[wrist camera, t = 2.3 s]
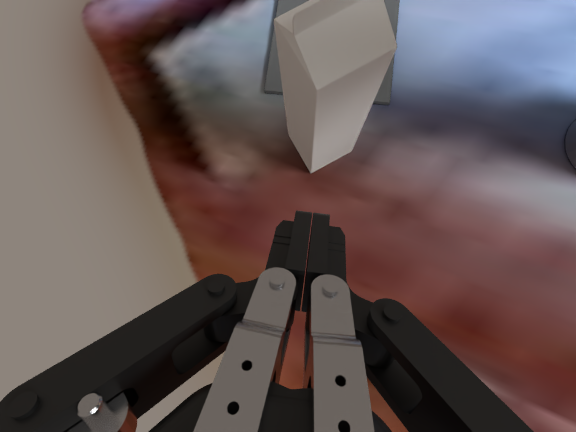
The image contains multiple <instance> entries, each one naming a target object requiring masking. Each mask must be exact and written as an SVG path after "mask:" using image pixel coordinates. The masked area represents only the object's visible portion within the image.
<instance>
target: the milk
mask: <svg viewBox="0 0 576 432" xmlns="http://www.w3.org/2000/svg"><path fill="white" fill-rule="evenodd" d="M274 26H275V34H276V42H277V50H278V58H279V66H280V73H281V81H282V89H283V97H284V105H285V113H286V120H287V128H288V135H289V137H290V139H291V140H292V142H293V144H294V145H295V147H296V149H297V151H298V152H299V154H300V156H301V158H302V159H303V161H304V163H305V165H306V166H307V168H308V170H309V172H310V173H313V172H315V171H316V170H318V169H320V168H322V167H324V166H326V165H327V164H329V163H331V162H333V161H335V160H337V159H339V158H340V157H342V156H344V155H346V154H348V153H350V152H351V151H352V150H353V148H354V145H355V143H356V141H357V138H358V136H359V134H360V131H361V129H362V127H363V125H364V122H365V120H366V118H367V115H368V113H369V111H370V108H371V106H372V104H373V101H374V99H375V97H376V95H377V92H378V90H379V88H380V85H381V83H382V81H383V78H384V76H385V74H386V71H387V69H388V67H389V65H390V62H391V60H392V58H393V55H394V53H395V51H396V48H397V43H396V40H395V37H394V33H393V30H392V26H391V23H390V20H389V16H388V13H387V9H386V6H385V3H384V0H309V1H307V2H305V3H303V4H301V5H299V6H297V7H296V8H294V9H292V10H290V11H288V12H286V13H284V14H282V15H280V16H278V17H277V18H275V19H274Z"/></svg>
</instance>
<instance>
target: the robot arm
mask: <svg viewBox="0 0 576 432" xmlns="http://www.w3.org/2000/svg"><path fill="white" fill-rule="evenodd" d="M565 147H566V152H567V155H568V158H569V160H570V162H571V163H572V164H573V166H574V167H575V168H576V120H575V121H574V122H573V123H572V124H571V126H570V127H569V129H568V131H567V134H566V138H565ZM311 217H312V213H311V212H303V211H296V214H295V219H294V222H293V221H285V220H283V221H282V222H281V223H280V224H279V225H278V226H277V227H276V231H275V235H274V239H273V243H272V246H271V250H270V254H269V258H268V262H267V265H266V269H265V271H264V272H262V273H261V275H260V276H259V277H258V278H257V279H254V280H252V281H248V282H241V283H235V281H234V280H233V279H232V278H231V277H229V276H227V275H223V274H214V275H210V276H208V277H206V278H204V279H202V280H200V281H199V282H197V283H195V284H194V285H192V286H191V287H189V288H187V289H185V290H183V291H182V292H180V293H178V294H176V295H175V296H173V297H171V298H169V299H168V300H166V301H165V302H163V303H161V304H159V305H157V306H156V307H154V308H152V309H151V310H149V311H147V312H145V313H144V314H142V315H140V316H138V317H137V318H135V319H133V320H132V321H130V322H128V323H126V324H125V325H123V326H121V327H120V328H118V329H116V330H114V331H113V332H111V333H109V334H107V335H106V336H104V337H103V338H101V339H99V340H97V341H95V342H94V343H92V344H90V345H89V346H87V347H85V348H83V349H82V350H80V351H78V352H76V353H75V354H73V355H71V356H70V357H68V358H66V359H64V360H63V361H61V362H60V363H58V364H56V365H54V366H52V367H51V368H49V369H47V370H45V371H44V372H42V373H40V374H39V375H37V376H35V377H33V378H32V379H30V380H28V381H27V382H25V383H23V384H21V385H20V386H18V387H17V388H15V389H14V390H12V391H11V392H10V393H9V394H7V395H6V396H5V397H4V398H3V400H2V401H1V402H0V432H135V431H136V427H137V419H138V418H139V417H140V416H142V415H143V414H144V413H146V412H147V411H148V410H150V409H151V408H152V407H153V406H155V405H156V404H157V403H159V402H160V401H161V400H162V399H164V398H165V397H166V396H167V395H169V394H170V393H171V392H173V391H174V390H175V389H177V388H178V387H179V386H180V385H182V384H183V383H184V382H186V381H187V380H188V379H189V378H191V377H192V376H193V375H195V374H196V373H197V372H198V371H200V370H201V369H202V368H204V367H205V366H206V365H208V364H209V363H210V362H211V361H212V360H214V359H215V358H217V357H218V356H219V355H220V354H222V353H223V352H224V351H225V353H224V356H223V358H222V361H221V363H220V366H219V368H218V371H217V373H216V376H215V378H214V381H213V383H211V384H209V385H206V386H205V387H203V388H201V389H199V390H198V391H196V392H195V393H193V394H192V395H190V396H189V397H188V398H187V399H186V400H184V401H183V402H182V403H181V404H180V405H179V406H178V407H176V408H175V409H174V410H173V411H172V412H171V413H170V414H169V415H167V416H166V417H165V418H164V419H163V420H161V421H160V422H159V423H158V424H157V425H156V426H154V427H153V428H152V429H151V430H150V431H149V432H392V431H391V430H390V429H389V427H388V426H387V425H386V424H385V423H384V422H383V420H382V419H381V418H380V417H378V416H377V415H376V414H375V413H374V412H373V411H371V404H370V397H369V390H368V384H367V377H368V379H369V380H370V381H371V383H372V384H373V385H374V387H375V388H376V389H377V390H378V392H379V393H380V394H381V396H382V397H383V398H384V400H385V401H386V402H387V404H388V405H389V406H390V408H391V409H392V410H393V412H394V413H395V414H396V416H397V417H398V418H399V420H400V421H401V422H402V423H403V425H404V426H405V427H406V429H407V430H408V431H409V432H533V431H532V430H531V429H530V428H529V427H528V426H527V425H526V424H525V423H524V422H523V421H522V420H521V419H520V418H519V417H518V416H517V415H516V414H515V413H514V412H513V411H512V410H511V409H510V408H509V407H508V406H507V405H506V404H505V403H504V402H503V401H502V400H500V399H499V398H498V397H497V396H496V395H495V394H494V393H493V392H492V391H491V390H490V389H489V388H488V387H487V386H486V385H485V384H484V383H483V382H482V381H481V380H480V379H479V378H478V377H477V376H476V375H475V374H474V373H473V372H472V371H471V370H470V369H469V368H468V367H467V366H466V365H465V364H463V363H462V362H461V361H460V360H459V359H458V358H457V357H456V356H455V355H454V354H453V353H452V352H451V351H450V350H449V349H448V348H447V347H446V346H445V345H444V344H443V343H442V342H441V341H440V340H439V339H438V338H437V337H436V336H435V335H434V334H433V333H432V332H431V331H430V330H429V329H428V328H426V327H425V326H424V325H423V324H422V323H421V322H420V321H419V320H418V319H417V318H416V317H415V316H414V315H413V314H412V313H411V312H410V311H409V310H408V309H407V308H406V307H405V306H404V305H402V304H401V303H399V302H397V301H395V300H392V299H386V298H384V299H379V300H377V301H375V302H374V303H372V302H370V301H368V300H365V299H363V298H361V297H359V296H357V295H356V294H355V293H353V292H352V291H351V289H350V288H349V286H348V284H347V281H346V254H345V235H344V233H343V232H342V230H341V228H340V227H333V226H329V218H330V215H328V214H320V213H313V220H312V227H311V235H310V242H309V234H310V226H311ZM308 242H309V250H308ZM307 251H308V259H307ZM306 259H307V268H306ZM305 268H306V276H305V285H304V294H303V302H302V311H303V312H306V322H305V329H304V373H303V388H302V389H288V388H286V387H284V386H282V385H280V384H279V380H280V375H281V370H282V366H283V361H284V357H285V352H286V348H287V344H288V339H289V335H290V330H291V326H292V324H293V321H294V314H295V310H296V311H300V306H301V298H302V291H303V283H304V275H305ZM366 376H367V377H366Z"/></svg>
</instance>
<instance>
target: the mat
mask: <svg viewBox="0 0 576 432" xmlns="http://www.w3.org/2000/svg"><path fill="white" fill-rule="evenodd" d="M307 1H309V0H278V6H277V12H276V18H277V17H278V16H280V15H282V14H284V13H286V12H288V11H290V10H292V9H294V8H296V7H297V6H299V5H301V4H303V3H305V2H307ZM399 1H400V0H384V3H385V6H386V9H387V13H388V16H389V20H390V23H391V26H392V30H393V33H394V37H395V40H396V33H397V22H398V12H399ZM394 54H395V53H394ZM393 64H394V55H393V58H392V60H391V62H390V65H389V67H388V69H387V71H386V74H385V76H384V78H383V81H382V83H381V85H380V88H379V90H378V92H377V95H376V97H375V99H374V101H373V104H382V105H389V103H390V95H391V85H392V74H393ZM264 92H265V93H271V94H281V95H283V89H282V81H281V73H280V66H279V58H278V50H277V42H276V34H275V26H274V31H273V38H272V44H271V50H270V57H269V63H268V69H267V76H266V82H265V88H264Z"/></svg>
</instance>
